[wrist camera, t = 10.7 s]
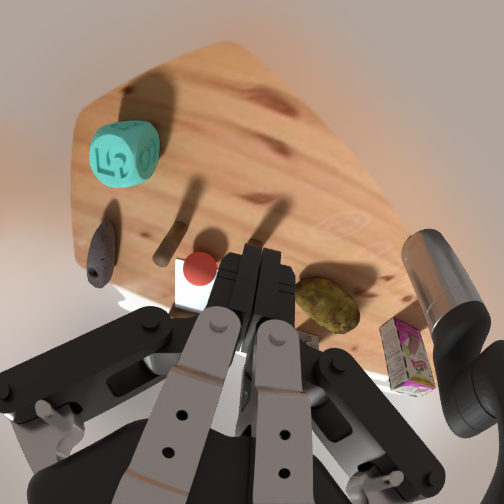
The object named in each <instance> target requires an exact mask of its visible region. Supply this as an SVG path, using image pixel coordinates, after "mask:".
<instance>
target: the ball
mask: <svg viewBox="0 0 504 504" xmlns="http://www.w3.org/2000/svg"><path fill="white" fill-rule="evenodd" d="M216 273H217V265H216V262H215V260H214V258H213V257H212V256H211V255H209V254H208V253H206V252H194V253H192V254H190V255H189V256H188V257H187V258H186V259H185V261H184V263H183V274H184V277H185V278H186V280H187V281H188V282H189V283H191V284H192V285H195V286H205V285H207V284H209V283H211V282H212V281H213V280H214V278H215V276H216Z"/></svg>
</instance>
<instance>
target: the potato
mask: <svg viewBox="0 0 504 504" xmlns="http://www.w3.org/2000/svg"><path fill="white" fill-rule="evenodd" d="M295 301H296V303H297V304H298V305H299V306H300V307H301V308H302V309H303V310H304V311H305V312H306V313H307V314H308V315H309V316H310V317H311V318H312V319H313V321H314V322H316V323H317V324H319V325H320V326H324V327H326V328H327V329H328V330H330V331H331V332H333V333H335V334H345V333H346V332H349V331H351V330H352V329H354V328H355V327H356V326H357V325H358V323H359V320H360V312H359V309H358V306H357V304H356V302H355V301H354V299H353V298H352V297H351V296H350V295H348V294H347V293H346V292H344V291H343V290H342V289H341V288H340V287H339V286H338V285H337V284H335V283H334V282H332V281H329V280H327V279H323V278H307V279H302V280H300V281H299V282H298V283H297V284H295Z"/></svg>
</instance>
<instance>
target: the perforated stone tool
mask: <svg viewBox="0 0 504 504" xmlns="http://www.w3.org/2000/svg"><path fill="white" fill-rule="evenodd" d="M114 263H115V232H114V228H113V225H112V223H111V222H110V221H105V222H103V223H102V224H101V225H100V226H99V227H98V229H97V230H96V232H95V234H94V236H93V238H92V241H91V244H90V248H89V253H88V259H87V277H88V281H89V282H90V284H92V285H93V286H94V287H96V288H103V287H104V286H105V285H106V284H107V283H108V282H109V281H110V279H111V277H112V273H113V269H114Z"/></svg>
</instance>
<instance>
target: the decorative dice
mask: <svg viewBox="0 0 504 504" xmlns="http://www.w3.org/2000/svg"><path fill="white" fill-rule="evenodd" d="M159 151H160V140H159V135H158V132H157V130H156V129H155V128H154V126H153V125H152V124H151V123H150V122H147V121H140V120H133V121H122V122H116V123H112V124H108V125H105V126H103V127H101V128H99V130H98V131H97V132H96V134H95V135H94V137H93V139H92V142H91V145H90V150H89V161H90V166H91V168H92V171H93V173H94V174H95V176H96V177H97V178H98V179H99V180H100V181H101V182H102V183H103V184H105V185H107V186H110V187H129V186H134V185H137V184H140V183H142V182H144V181H146V180H148V179H149V178H150V177H151V176H152V174H153V172H154V171H155V168H156V166H157V162H158V158H159Z"/></svg>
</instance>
